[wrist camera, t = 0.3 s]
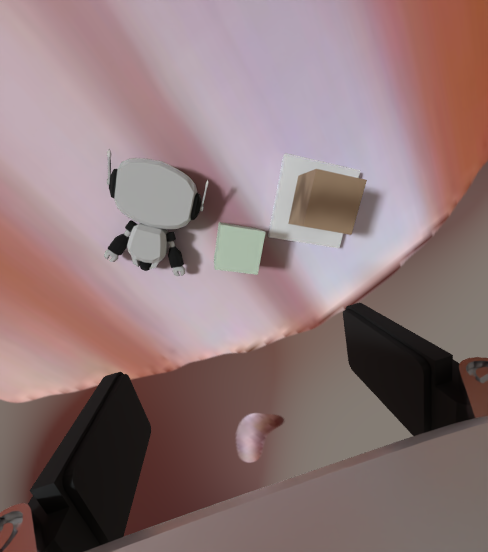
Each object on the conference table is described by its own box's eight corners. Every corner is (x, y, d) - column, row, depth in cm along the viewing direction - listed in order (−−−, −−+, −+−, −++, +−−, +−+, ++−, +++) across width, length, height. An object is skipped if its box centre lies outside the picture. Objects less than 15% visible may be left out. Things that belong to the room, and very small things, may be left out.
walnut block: (298, 175, 34) (316, 168, 28) (341, 184, 35) (366, 180, 29) (288, 223, 36) (303, 226, 30) (329, 230, 37) (351, 234, 31)
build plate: (283, 155, 34) (285, 153, 33) (355, 171, 36) (360, 170, 35) (267, 236, 37) (269, 237, 36) (335, 247, 39) (339, 248, 38)
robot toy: (188, 273, 38) (210, 178, 33) (185, 283, 33) (209, 176, 29) (108, 255, 35) (120, 149, 31) (94, 263, 31) (105, 142, 26)
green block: (218, 222, 35) (220, 224, 30) (256, 228, 36) (265, 231, 31) (213, 260, 37) (214, 269, 31) (250, 264, 38) (257, 274, 32)
